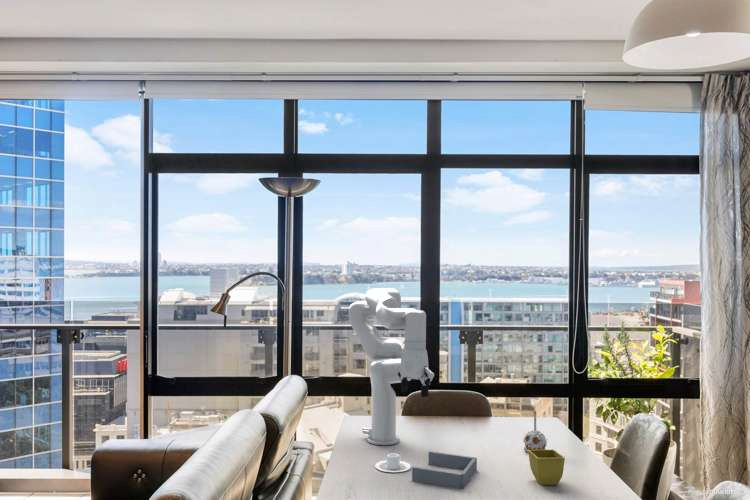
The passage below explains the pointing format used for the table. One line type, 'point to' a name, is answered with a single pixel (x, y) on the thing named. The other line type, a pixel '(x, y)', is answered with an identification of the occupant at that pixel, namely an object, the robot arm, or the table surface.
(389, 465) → the candle holder
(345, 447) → the table surface
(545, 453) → the flower pot
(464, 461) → the box
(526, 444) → the decorative ornament
